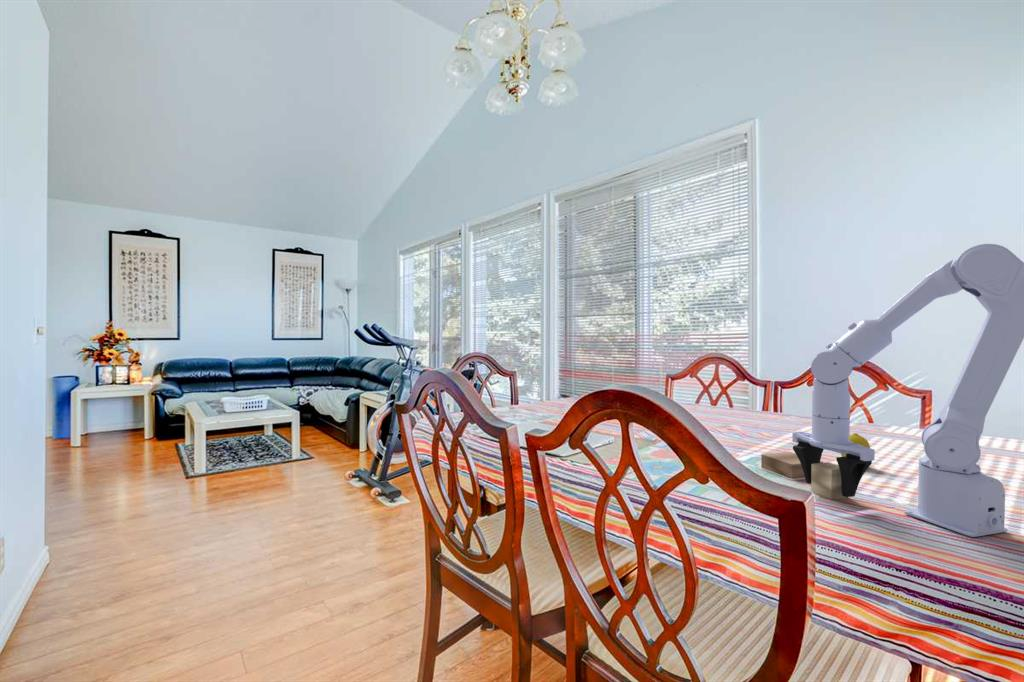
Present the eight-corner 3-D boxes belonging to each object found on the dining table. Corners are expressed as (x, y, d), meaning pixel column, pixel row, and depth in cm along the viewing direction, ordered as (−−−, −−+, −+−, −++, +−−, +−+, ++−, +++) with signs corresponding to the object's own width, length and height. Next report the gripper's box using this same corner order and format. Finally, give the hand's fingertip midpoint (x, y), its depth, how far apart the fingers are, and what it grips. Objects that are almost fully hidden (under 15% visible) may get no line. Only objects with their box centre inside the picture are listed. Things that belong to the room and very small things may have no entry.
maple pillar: (848, 501, 82) (848, 468, 82) (831, 503, 81) (831, 470, 81) (827, 493, 86) (828, 462, 86) (811, 495, 85) (811, 463, 85)
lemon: (871, 473, 98) (871, 437, 98) (839, 468, 101) (840, 433, 101) (870, 467, 102) (870, 432, 102) (840, 463, 106) (840, 429, 106)
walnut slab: (822, 475, 94) (822, 461, 94) (792, 478, 92) (792, 464, 92) (790, 465, 102) (790, 451, 102) (761, 467, 100) (761, 454, 100)
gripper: (780, 410, 89) (779, 478, 89) (852, 425, 75) (851, 505, 75) (808, 409, 91) (807, 475, 91) (884, 423, 77) (883, 501, 77)
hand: (829, 489), depth 83 cm, fingers open, 7 cm apart
